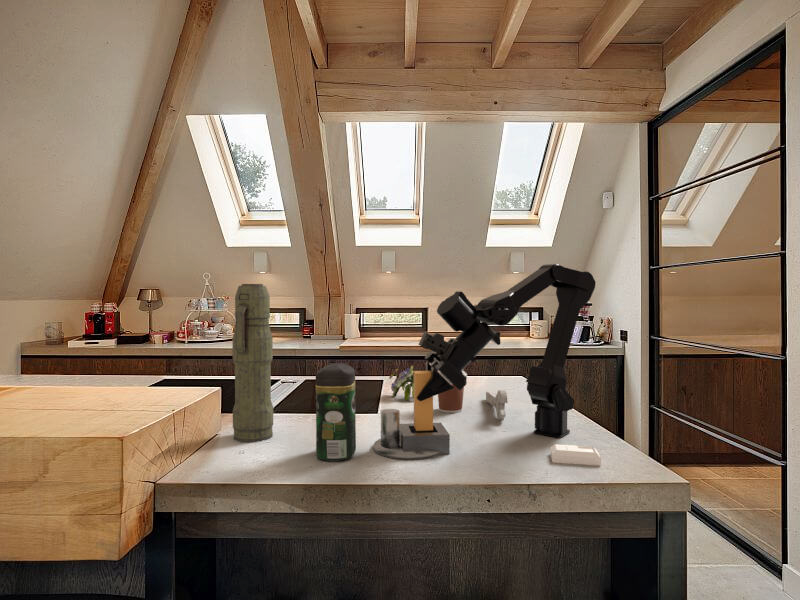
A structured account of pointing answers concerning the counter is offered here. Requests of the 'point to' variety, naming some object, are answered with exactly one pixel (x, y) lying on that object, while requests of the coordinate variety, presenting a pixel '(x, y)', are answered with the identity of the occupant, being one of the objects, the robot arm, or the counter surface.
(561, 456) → the soap bar
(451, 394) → the coffee cup
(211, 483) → the counter surface
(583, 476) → the counter surface
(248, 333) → the thermos
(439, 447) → the desk organizer stand
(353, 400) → the coffee jar
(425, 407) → the wooden block
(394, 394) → the passion flower
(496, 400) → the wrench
